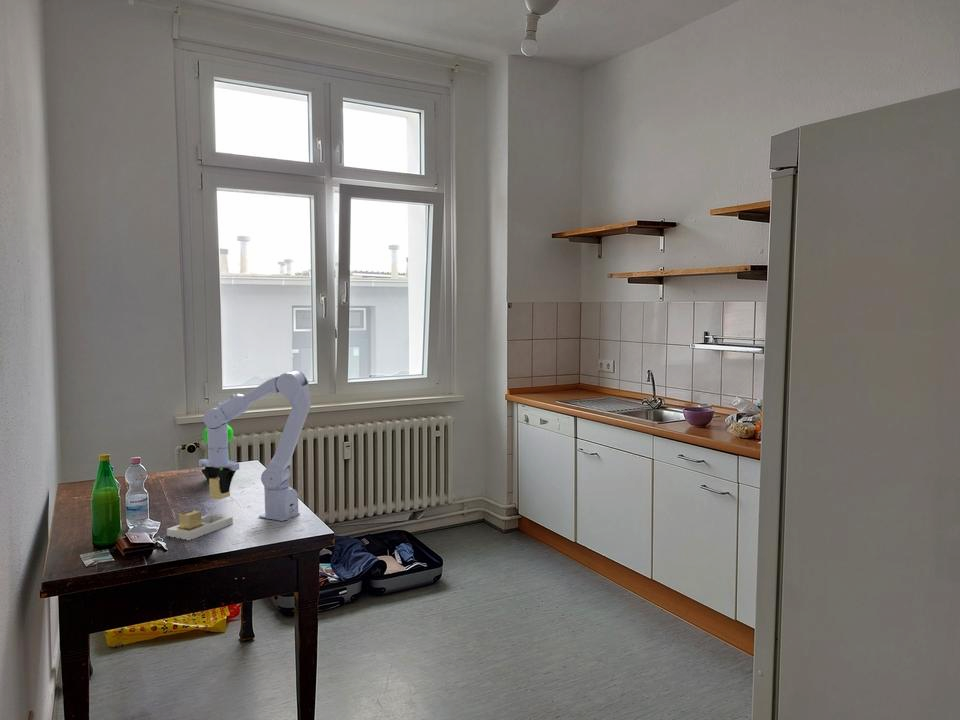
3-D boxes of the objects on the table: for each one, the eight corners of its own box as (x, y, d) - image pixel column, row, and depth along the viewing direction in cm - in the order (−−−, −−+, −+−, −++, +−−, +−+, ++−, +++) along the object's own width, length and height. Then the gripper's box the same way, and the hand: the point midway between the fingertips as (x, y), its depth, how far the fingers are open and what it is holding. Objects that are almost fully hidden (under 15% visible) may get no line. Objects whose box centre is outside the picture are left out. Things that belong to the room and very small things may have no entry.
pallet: (232, 523, 196) (232, 516, 196) (189, 540, 182) (188, 533, 182) (211, 519, 200) (211, 513, 200) (167, 536, 186) (166, 528, 186)
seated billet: (201, 532, 189) (200, 510, 188) (190, 536, 185) (189, 514, 185) (191, 530, 191) (190, 509, 190) (179, 534, 187) (178, 513, 187)
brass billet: (230, 496, 205) (229, 475, 204) (219, 499, 201) (218, 479, 200) (220, 494, 206) (219, 474, 206) (209, 498, 203) (209, 477, 202)
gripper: (189, 447, 202) (191, 492, 203) (225, 451, 196) (227, 497, 197) (208, 443, 208) (210, 486, 209) (243, 447, 202) (245, 491, 203)
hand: (219, 491), depth 204 cm, fingers closed on brass billet, 4 cm apart
